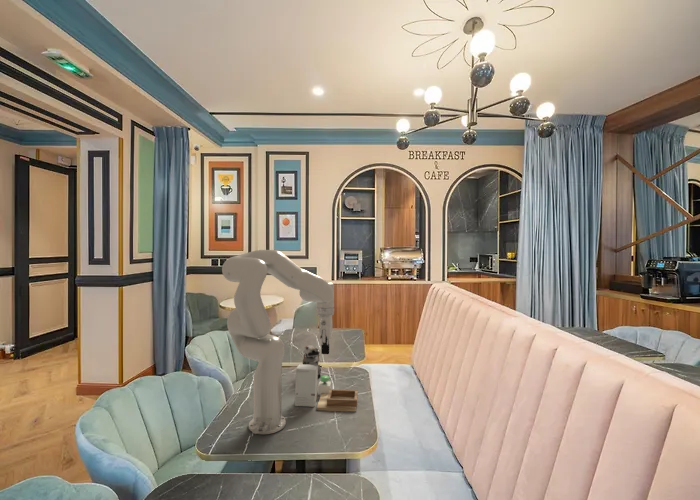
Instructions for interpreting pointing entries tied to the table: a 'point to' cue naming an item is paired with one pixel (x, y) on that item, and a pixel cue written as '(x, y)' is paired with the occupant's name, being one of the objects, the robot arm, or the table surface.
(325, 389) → the console
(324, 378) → the button
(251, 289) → the robot arm
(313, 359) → the figurine
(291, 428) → the table surface
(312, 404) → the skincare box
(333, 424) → the table surface
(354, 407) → the wooden display tray
